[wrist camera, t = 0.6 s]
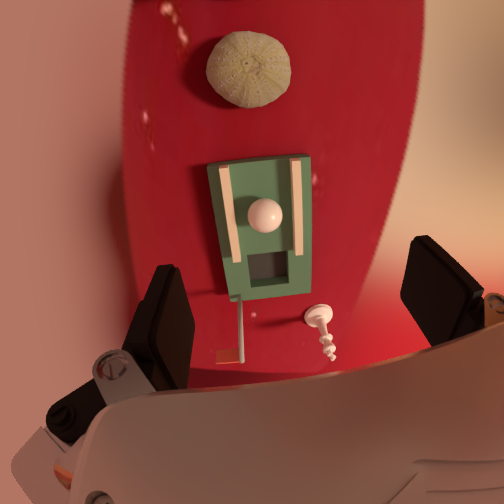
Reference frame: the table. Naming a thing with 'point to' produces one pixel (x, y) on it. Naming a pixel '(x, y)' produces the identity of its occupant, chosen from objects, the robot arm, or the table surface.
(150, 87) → the table surface
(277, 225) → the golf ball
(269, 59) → the sea urchin shell
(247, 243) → the mat
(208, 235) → the table surface
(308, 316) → the chess piece
